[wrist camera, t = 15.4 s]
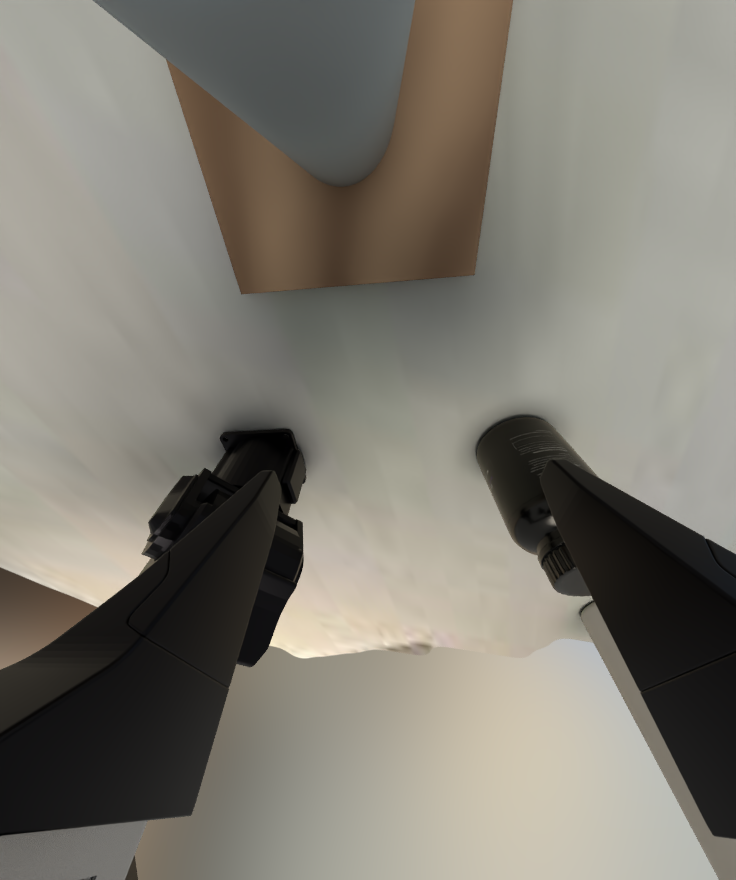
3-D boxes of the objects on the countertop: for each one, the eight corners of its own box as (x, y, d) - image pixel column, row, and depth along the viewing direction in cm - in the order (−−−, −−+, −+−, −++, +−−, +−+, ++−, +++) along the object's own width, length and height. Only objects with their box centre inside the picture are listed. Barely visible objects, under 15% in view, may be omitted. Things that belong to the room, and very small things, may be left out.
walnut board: (247, 291, 18) (241, 294, 17) (101, -185, 9) (75, -224, 8) (469, 272, 17) (474, 274, 16) (540, -272, 8) (558, -325, 7)
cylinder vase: (586, 594, 43) (768, 909, 23) (679, 586, 41) (969, 926, 21) (572, 623, 50) (701, 881, 30) (650, 618, 48) (845, 892, 28)
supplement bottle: (459, 460, 26) (508, 593, 17) (507, 402, 22) (606, 533, 13) (518, 480, 28) (593, 612, 18) (572, 429, 24) (704, 563, 14)
